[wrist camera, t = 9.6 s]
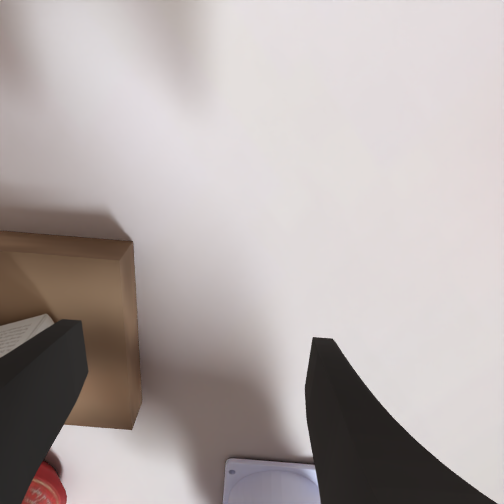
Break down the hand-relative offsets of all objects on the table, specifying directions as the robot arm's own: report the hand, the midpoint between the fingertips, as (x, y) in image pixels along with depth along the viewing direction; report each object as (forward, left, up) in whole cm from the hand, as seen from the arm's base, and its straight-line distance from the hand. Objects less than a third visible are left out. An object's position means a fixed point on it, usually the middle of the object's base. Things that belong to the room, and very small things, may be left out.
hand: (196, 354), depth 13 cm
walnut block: (-7, +11, -11) cm, 17 cm away
